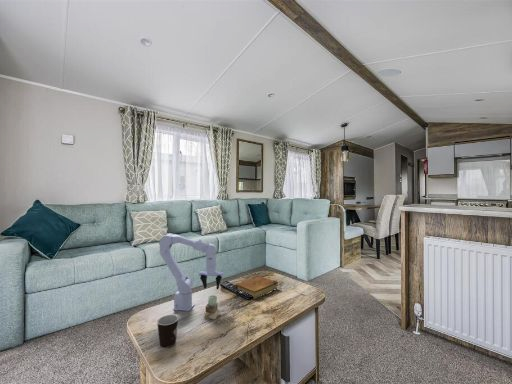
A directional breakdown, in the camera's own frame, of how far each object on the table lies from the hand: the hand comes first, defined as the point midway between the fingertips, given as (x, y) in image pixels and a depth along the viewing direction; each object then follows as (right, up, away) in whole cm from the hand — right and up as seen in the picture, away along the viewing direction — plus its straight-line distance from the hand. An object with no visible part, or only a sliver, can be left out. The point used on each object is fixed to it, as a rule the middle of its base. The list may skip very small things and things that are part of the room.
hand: (211, 288), depth 138 cm
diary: (+27, -12, +23) cm, 37 cm away
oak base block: (+2, -10, -11) cm, 15 cm away
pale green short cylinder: (+2, -4, -11) cm, 12 cm away
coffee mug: (-12, -10, -34) cm, 37 cm away
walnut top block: (+2, -7, -11) cm, 13 cm away
